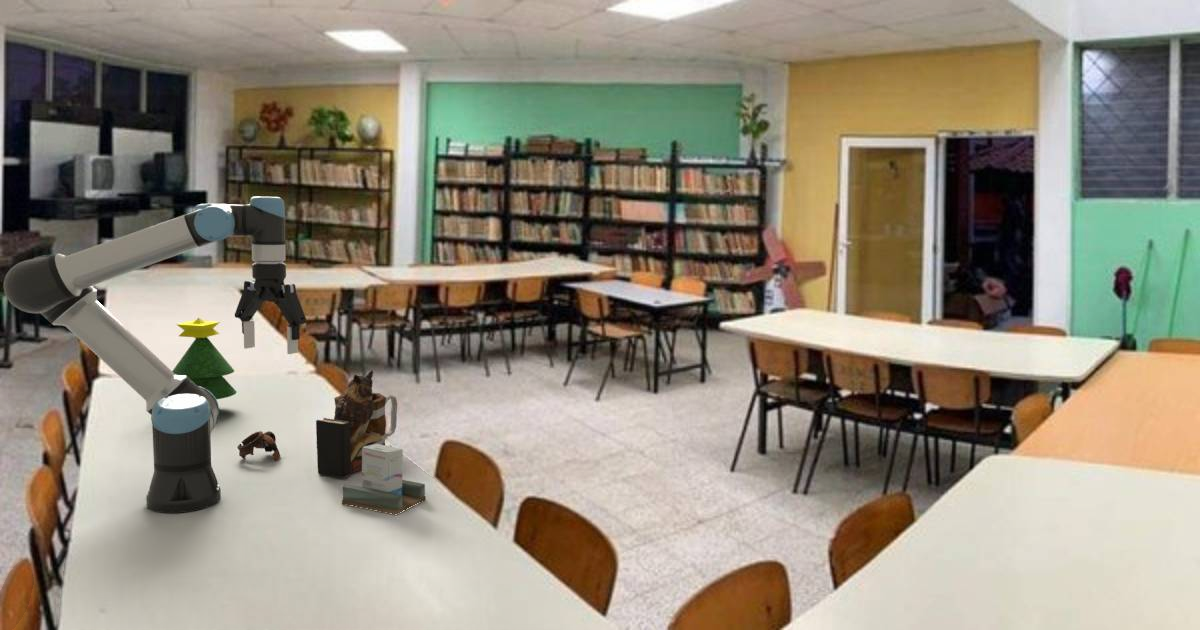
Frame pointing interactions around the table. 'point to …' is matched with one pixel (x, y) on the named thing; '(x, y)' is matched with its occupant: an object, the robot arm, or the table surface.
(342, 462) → the bookend
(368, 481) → the ink box
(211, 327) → the decorative tree
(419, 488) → the track
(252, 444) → the brown carved ornament
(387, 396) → the mug
